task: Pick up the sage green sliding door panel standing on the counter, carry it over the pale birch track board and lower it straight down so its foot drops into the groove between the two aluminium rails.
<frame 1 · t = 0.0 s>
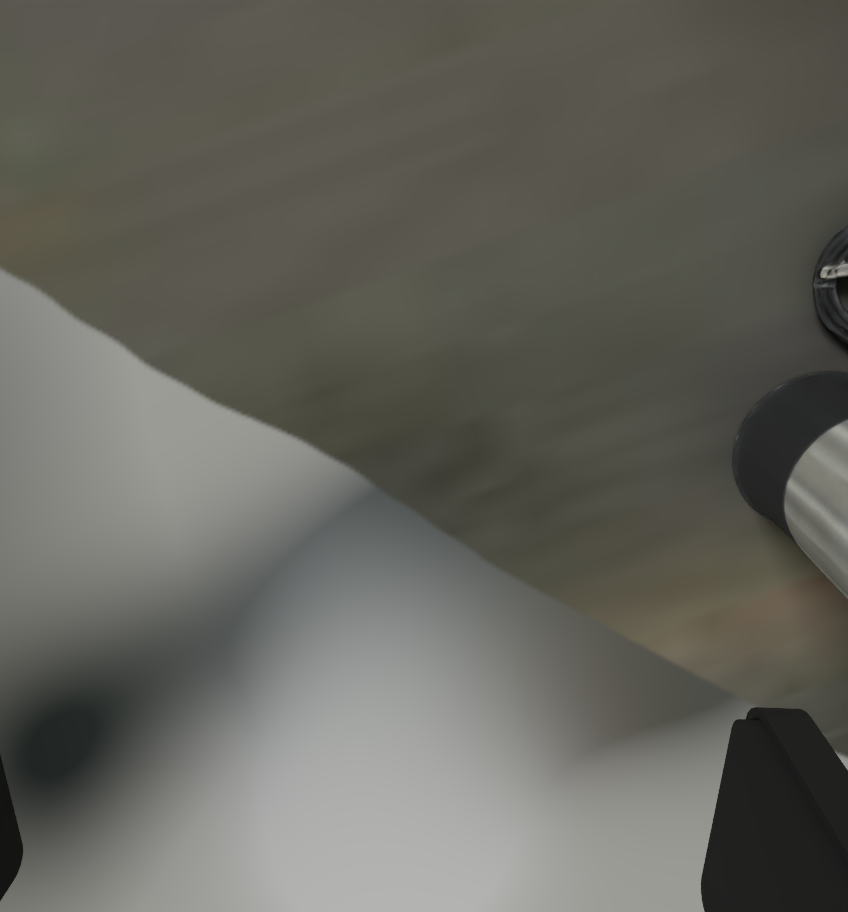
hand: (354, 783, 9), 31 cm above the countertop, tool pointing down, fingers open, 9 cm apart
milk frother: (834, 379, 38), on the countertop
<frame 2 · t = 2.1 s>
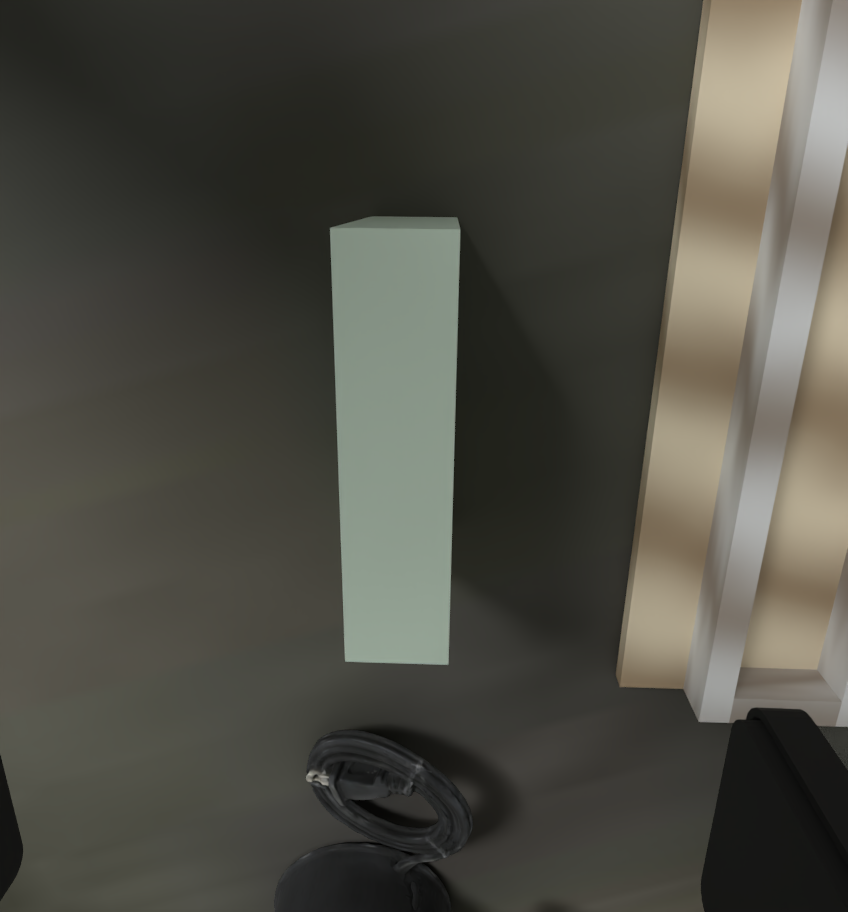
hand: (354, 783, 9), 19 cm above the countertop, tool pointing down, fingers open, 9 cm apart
door panel: (413, 383, 27), on the countertop
door track: (815, 391, 26), on the countertop
milk frother: (370, 842, 35), on the countertop
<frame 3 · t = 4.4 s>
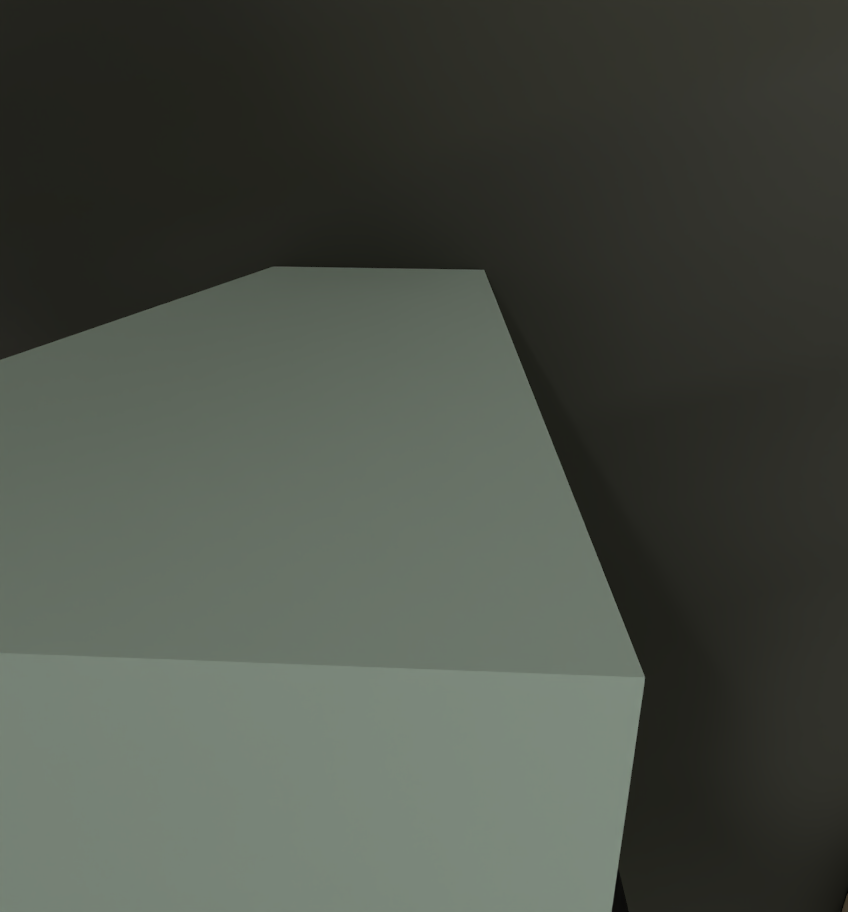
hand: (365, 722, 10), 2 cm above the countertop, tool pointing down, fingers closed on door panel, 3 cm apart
door panel: (381, 629, 12), on the countertop, touching gripper
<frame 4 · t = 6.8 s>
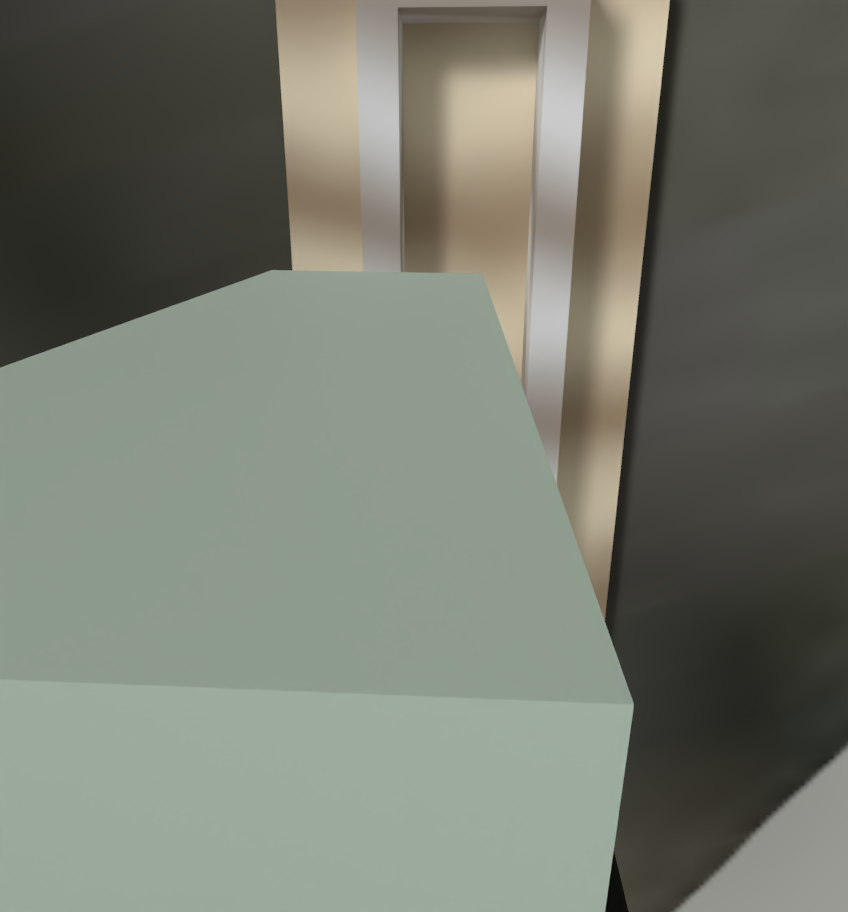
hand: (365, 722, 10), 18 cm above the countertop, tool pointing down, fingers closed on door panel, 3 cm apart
door panel: (380, 633, 12), point 15 cm above the countertop, touching gripper
door track: (462, 389, 26), on the countertop
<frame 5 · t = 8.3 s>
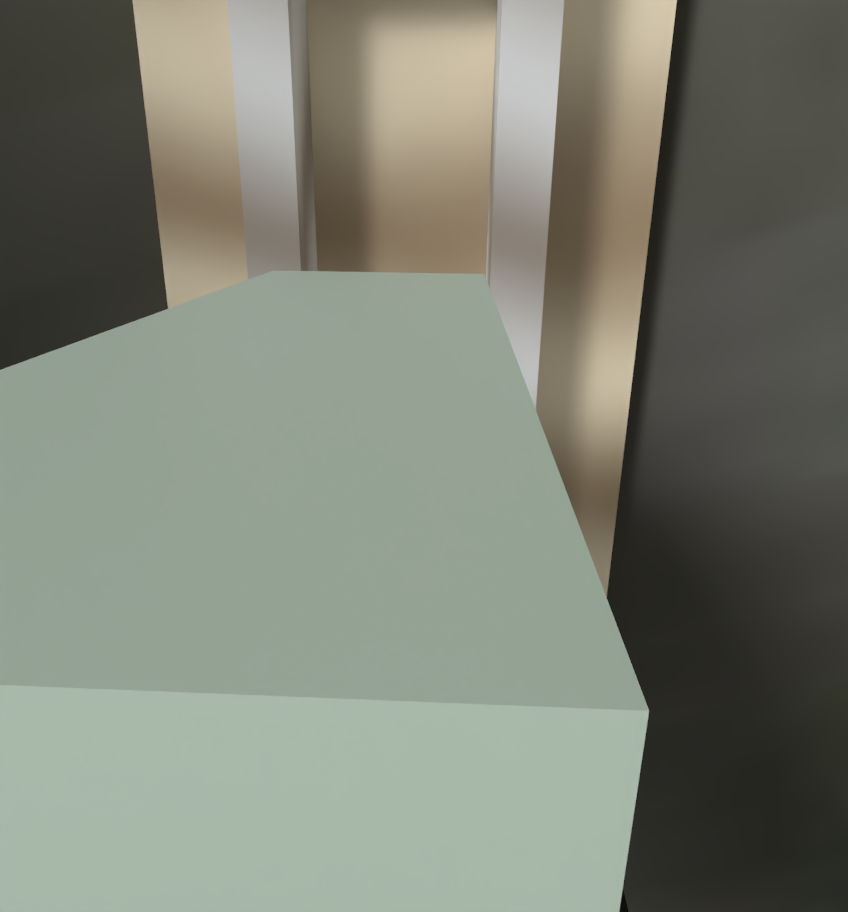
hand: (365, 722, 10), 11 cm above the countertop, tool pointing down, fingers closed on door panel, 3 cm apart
door panel: (382, 633, 12), point 9 cm above the countertop, touching gripper
door track: (403, 452, 20), on the countertop
when the fingers open (4 cm above the countertop, at t = 9.7 s): door panel drops 1 cm, resting on door track.
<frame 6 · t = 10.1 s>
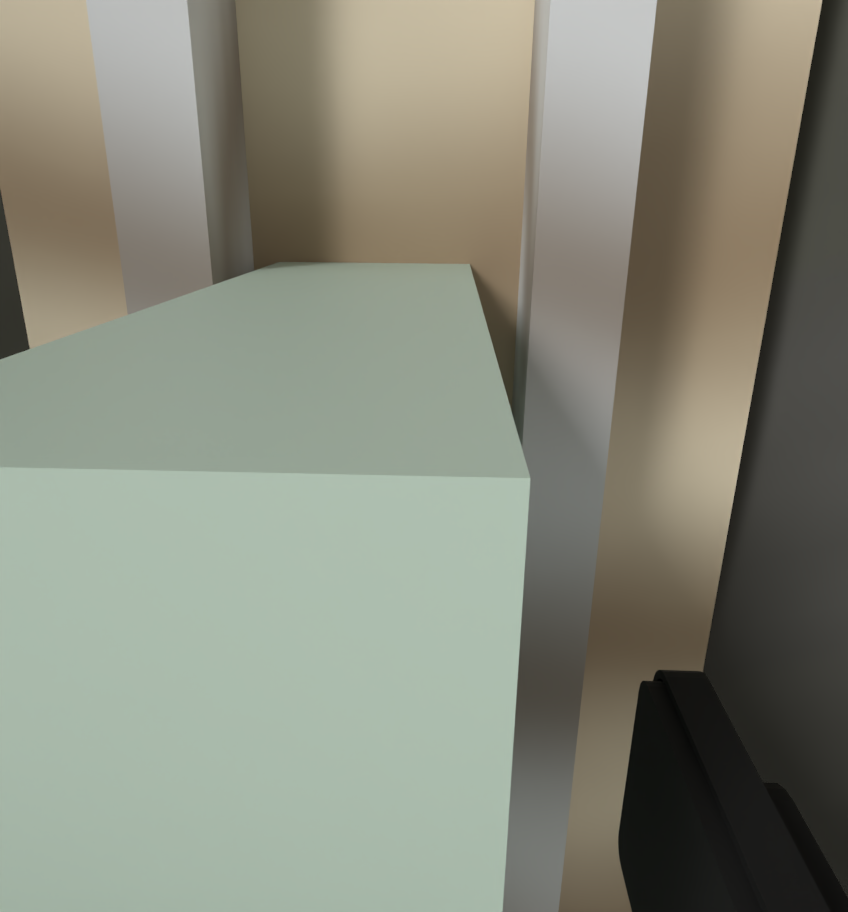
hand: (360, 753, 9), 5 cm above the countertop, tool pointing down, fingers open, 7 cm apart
door panel: (379, 595, 13), point 1 cm above the countertop, touching door track
door track: (391, 573, 14), on the countertop
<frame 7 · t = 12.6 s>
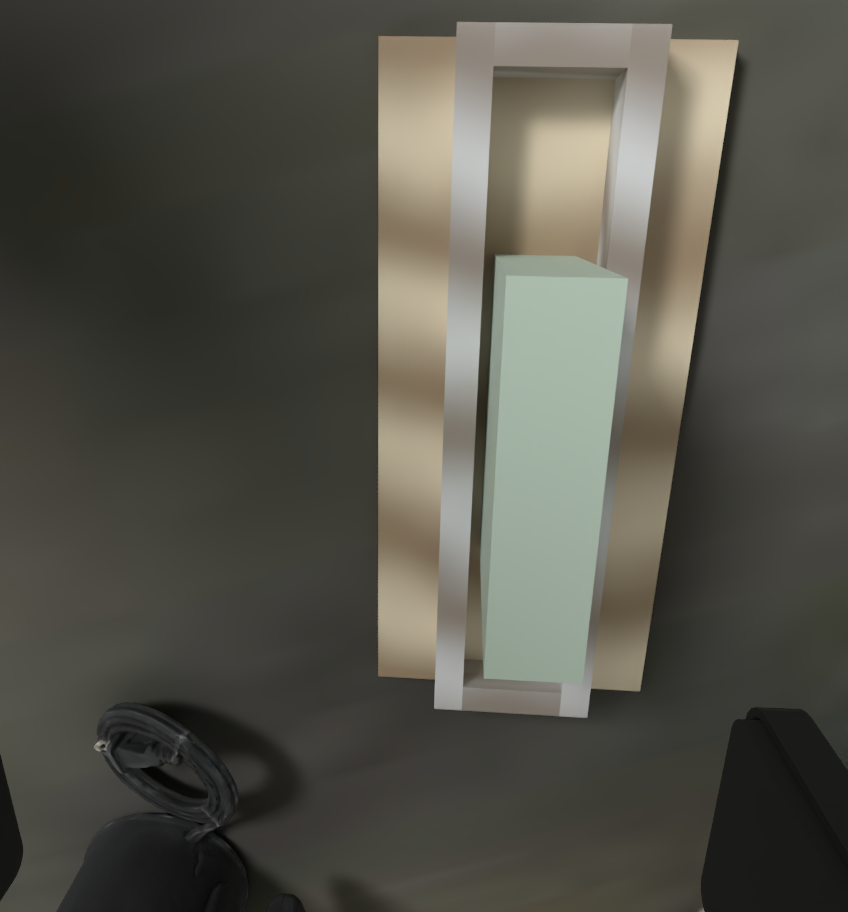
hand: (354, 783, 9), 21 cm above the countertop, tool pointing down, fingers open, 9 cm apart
door panel: (524, 411, 28), point 1 cm above the countertop, touching door track
door track: (526, 406, 29), on the countertop
milk frother: (171, 814, 37), on the countertop
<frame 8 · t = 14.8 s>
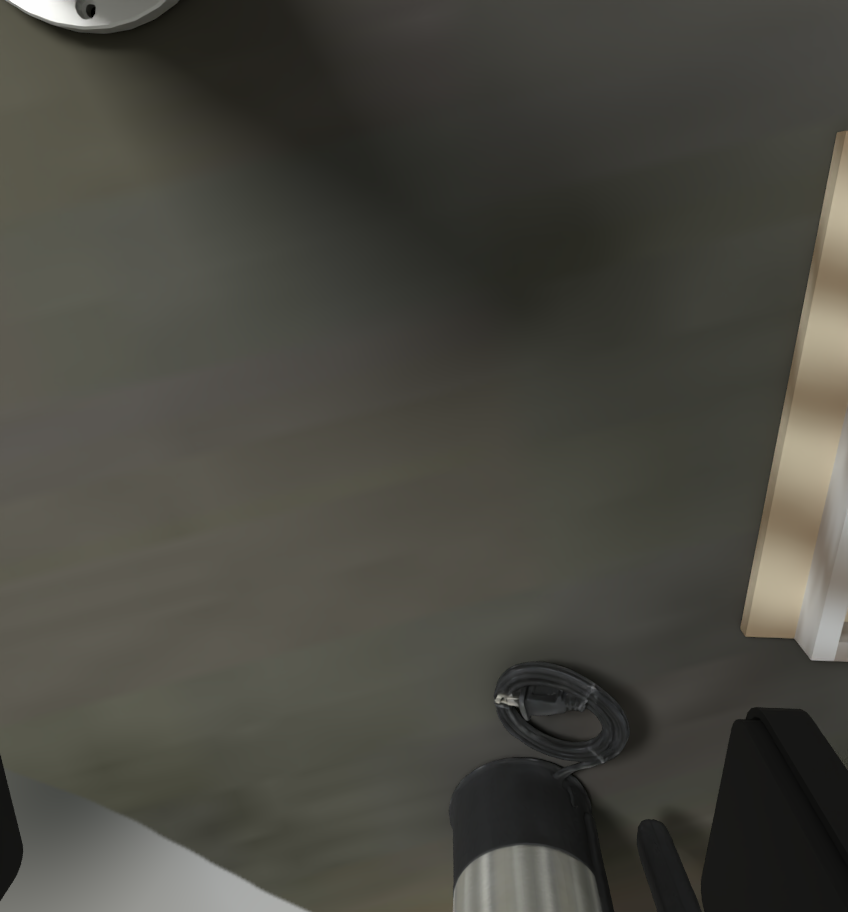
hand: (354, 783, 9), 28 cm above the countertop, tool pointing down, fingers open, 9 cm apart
milk frother: (530, 758, 44), on the countertop
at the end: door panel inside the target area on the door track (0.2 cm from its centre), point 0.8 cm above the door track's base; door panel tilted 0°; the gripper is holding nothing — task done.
